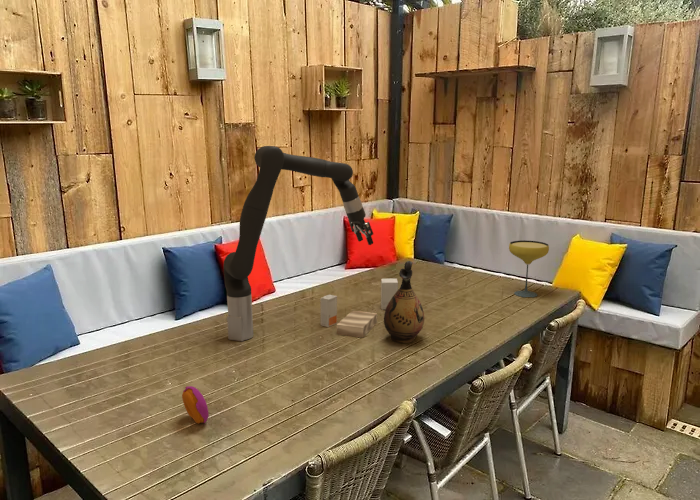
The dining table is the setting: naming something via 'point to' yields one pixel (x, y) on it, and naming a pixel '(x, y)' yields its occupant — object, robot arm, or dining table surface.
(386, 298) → the supplement box
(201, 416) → the donut
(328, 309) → the skincare box
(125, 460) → the dining table surface
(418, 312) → the ceramic jug
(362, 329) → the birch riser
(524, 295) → the cocktail glass
